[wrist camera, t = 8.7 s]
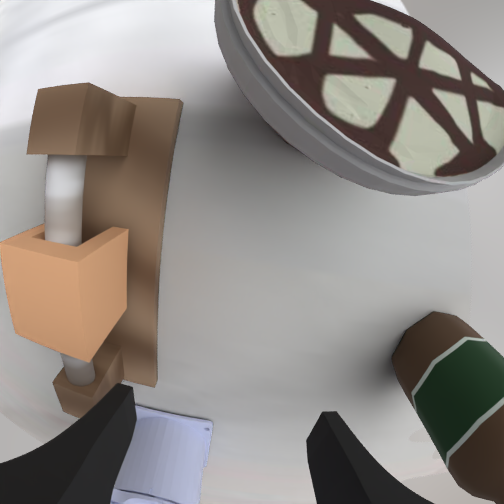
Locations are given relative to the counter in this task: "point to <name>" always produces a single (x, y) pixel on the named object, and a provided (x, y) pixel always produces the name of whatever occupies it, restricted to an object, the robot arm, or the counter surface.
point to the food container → (365, 92)
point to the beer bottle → (457, 399)
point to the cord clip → (66, 289)
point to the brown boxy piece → (108, 215)
